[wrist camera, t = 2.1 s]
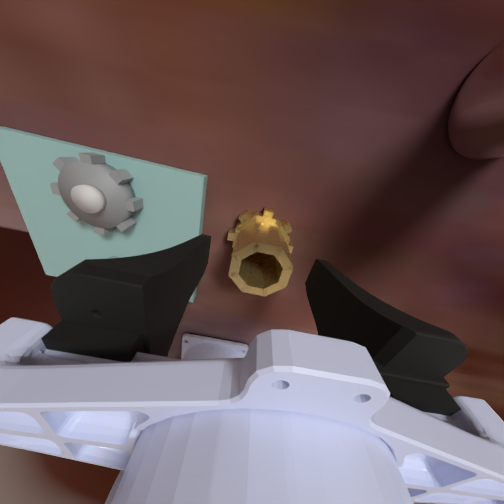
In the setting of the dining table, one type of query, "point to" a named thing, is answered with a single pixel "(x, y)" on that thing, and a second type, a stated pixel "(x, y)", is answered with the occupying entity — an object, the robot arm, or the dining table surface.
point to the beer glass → (480, 111)
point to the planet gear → (261, 253)
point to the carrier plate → (80, 236)
